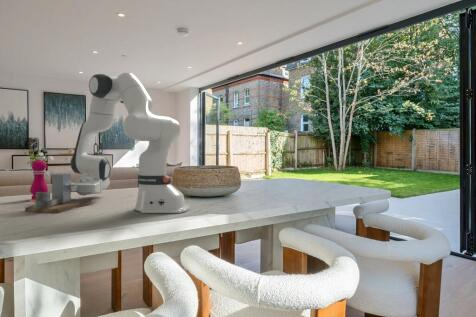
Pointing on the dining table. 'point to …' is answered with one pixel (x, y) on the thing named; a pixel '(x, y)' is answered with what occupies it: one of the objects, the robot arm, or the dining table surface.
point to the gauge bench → (44, 205)
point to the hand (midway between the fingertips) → (65, 189)
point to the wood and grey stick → (35, 201)
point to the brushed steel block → (61, 188)
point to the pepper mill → (38, 178)
